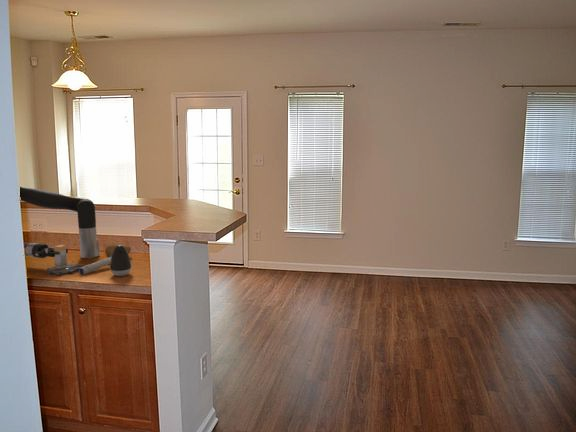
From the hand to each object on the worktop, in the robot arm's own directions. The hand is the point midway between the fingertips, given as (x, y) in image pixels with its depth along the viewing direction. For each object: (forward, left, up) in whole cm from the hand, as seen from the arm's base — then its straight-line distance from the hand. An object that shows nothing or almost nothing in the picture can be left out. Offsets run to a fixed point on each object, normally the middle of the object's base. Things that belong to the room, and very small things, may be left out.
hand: (61, 253), depth 249 cm
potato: (-31, +3, -9) cm, 32 cm away
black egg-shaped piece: (-15, +32, -9) cm, 36 cm away
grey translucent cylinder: (0, -1, -7) cm, 7 cm away
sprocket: (0, +3, -9) cm, 9 cm away
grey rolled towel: (-14, +15, -9) cm, 23 cm away
